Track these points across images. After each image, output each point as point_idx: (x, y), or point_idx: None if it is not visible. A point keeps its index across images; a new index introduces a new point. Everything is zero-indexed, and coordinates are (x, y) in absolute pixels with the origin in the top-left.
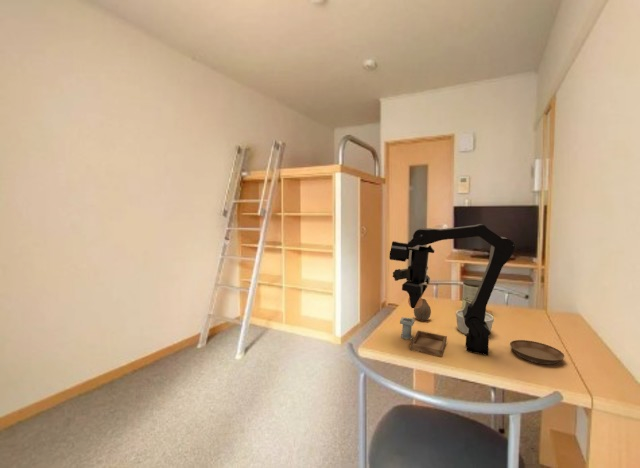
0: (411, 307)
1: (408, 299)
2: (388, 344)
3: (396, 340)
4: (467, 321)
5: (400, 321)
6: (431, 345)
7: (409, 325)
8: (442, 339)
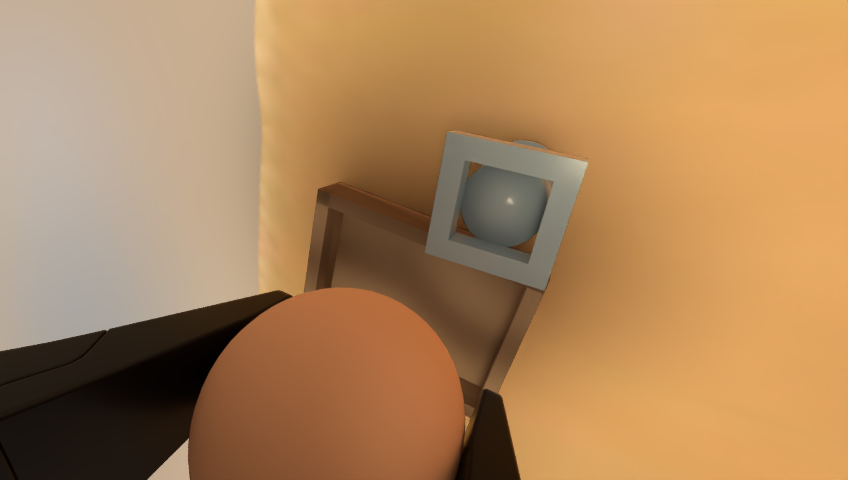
0: (278, 295)
1: (294, 321)
2: (370, 46)
3: (446, 103)
4: None
5: (448, 136)
6: (410, 306)
7: (465, 218)
8: (481, 388)
